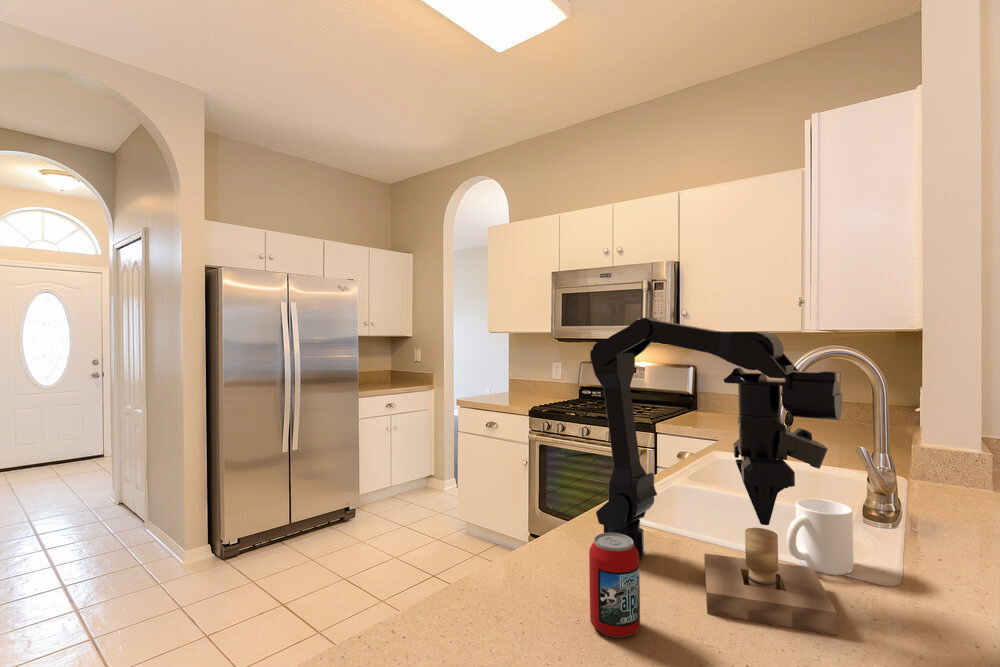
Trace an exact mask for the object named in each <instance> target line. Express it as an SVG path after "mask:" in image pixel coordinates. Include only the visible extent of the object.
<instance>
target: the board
mask: <svg viewBox="0 0 1000 667" xmlns="http://www.w3.org/2000/svg"><path fill="white" fill-rule="evenodd" d="M703 554H704V581H705V583H704V584H705V600H706V601H705V602H706V614H708V615H709V614H711V615H716V616H720V617H721V616H722V617H728V618H733V619H737V620H745V621H751V622H755V623H756V622H757V623H762V624H768V625H775V626H779V627H780V626H781V627H785V628H791V629H798V630H804V631H809V632H815V633H822V634H829V635H833V636H838V614H837V611H836V610H837V609H836V608H835V607H834V605H833V602H832V601H831V599H830V597H829V594H827V592H826V589H825V588H824V586H823V584H822V581H820V579H819V577H818V574H817V572H815V571H814V569H813V567H805V566H803V565H797V564H791V563H790V564H789V563H782V562H778V571H777V572H775V573H776V589H769V588H763V587H756V586H749V578H748V573H749V567H748V566H747V565H746V558H744V557H743V558H742V557H736V556H728V555H722V554H721V555H720V554H713V553H703Z"/></svg>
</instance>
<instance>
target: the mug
mask: <svg viewBox="0 0 1000 667" xmlns="http://www.w3.org/2000/svg"><path fill="white" fill-rule="evenodd" d="M853 516H854V515H853V509H852V508H851V507H849V506H848V505H846V504H843V503H840V502H838V501H837V502H836V501H834V500H828V499H821V498H801V499H797V501H796V502H795V518H794V519H793V520H792V521H791V523H790V524H789V527H788V529H787V534H786V535H787V536H786V543H787V544H786V546H787V549H788V551H789V553H790V554H791V556H792V557H794V558H795V559H797V560H798V562H799V564H800V565H801V566H805V567H813V569H814V571H815V573H819V574H823V575H829V576H846V575H848V574H847V573H848V572H849V571H851V570H852V569H854V530H853V529H854V525H853V524H854V522H853V521H854V519H853V518H854V517H853ZM852 571H853V570H852ZM852 571H851V572H852ZM845 574H846V575H845Z"/></svg>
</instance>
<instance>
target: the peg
mask: <svg viewBox="0 0 1000 667" xmlns="http://www.w3.org/2000/svg"><path fill="white" fill-rule="evenodd" d="M778 538H779V535H778V534H777V532H775V531H773V530H770V529H766V528H763V527H748V528H746V529H745V530H744V540H745V541H744V542H745V543H744V544H745V548H744V549H745V559H746V565H747V566H748V567H749V573H748V578H749V586H756V587H763V588H769V589H776V573H775V572H777V571H778V563H779V539H778Z"/></svg>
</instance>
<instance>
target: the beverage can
mask: <svg viewBox="0 0 1000 667" xmlns="http://www.w3.org/2000/svg"><path fill="white" fill-rule="evenodd" d="M588 557H589V559H588V560H589V562H588V564H589V567H588V568H589V569H588V570H589V577H588V578H589V581H588V582H589V616H590V617H589V619H590V623H591V625H592V626H593V628H595V629H596V630H597V631H599V632H600V633H601V634H603V635H604V636H607V637H610V638H616V639H619V638H621V637H622V638H626V636H627V637H628V636H629V637H630V635H633V634H635V633H636V632H637V631H638V630H639V629H640V627H641V601H640V600H641V596H640V595H641V593H640V592H641V590H640V588H641V587H640V585H641V584H640V561H639V553H638V551H637V549H636V547H635V545H634V542H633V540H632V539H631V538H630V537H628V536H626V535H623V534H618V533H604V532H603V533H599V534H597V535H595V536H594V539H593V542H592V543H591V546H590V548H589V552H588Z"/></svg>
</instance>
